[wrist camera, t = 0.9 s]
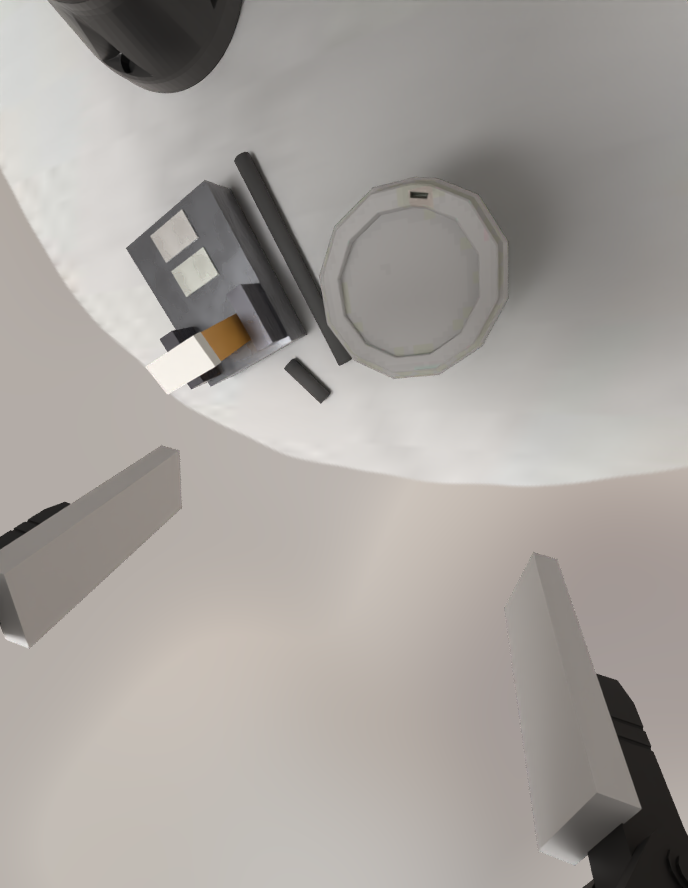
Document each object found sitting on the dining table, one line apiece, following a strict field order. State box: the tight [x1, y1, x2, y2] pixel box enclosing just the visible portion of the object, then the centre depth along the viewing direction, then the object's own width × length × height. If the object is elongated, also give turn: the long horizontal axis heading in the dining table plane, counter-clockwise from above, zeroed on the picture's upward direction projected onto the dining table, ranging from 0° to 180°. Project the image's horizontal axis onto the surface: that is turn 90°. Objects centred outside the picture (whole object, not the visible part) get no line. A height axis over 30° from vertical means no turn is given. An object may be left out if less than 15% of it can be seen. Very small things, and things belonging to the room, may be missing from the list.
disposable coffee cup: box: [319, 177, 508, 379], centre depth 27 cm, size 11×11×15 cm
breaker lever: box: [146, 313, 251, 394], centre depth 32 cm, size 2×6×8 cm, turn 118°
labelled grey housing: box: [126, 180, 307, 389], centre depth 35 cm, size 14×10×7 cm
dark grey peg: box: [284, 359, 330, 403], centre depth 39 cm, size 5×1×1 cm, turn 48°
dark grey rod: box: [234, 152, 352, 366], centre depth 35 cm, size 19×1×1 cm, turn 28°
